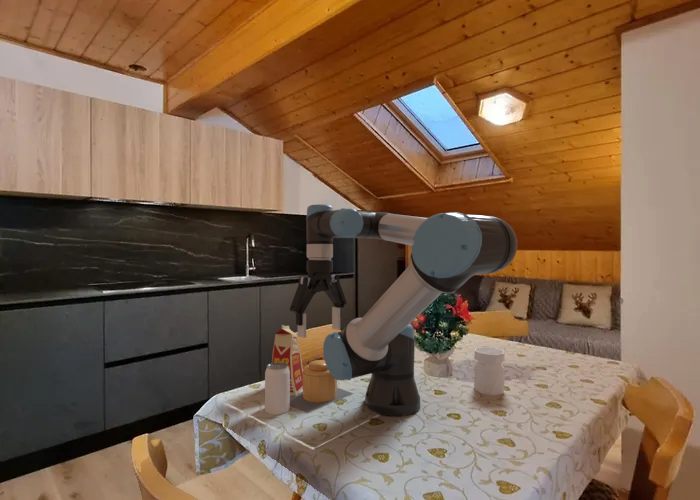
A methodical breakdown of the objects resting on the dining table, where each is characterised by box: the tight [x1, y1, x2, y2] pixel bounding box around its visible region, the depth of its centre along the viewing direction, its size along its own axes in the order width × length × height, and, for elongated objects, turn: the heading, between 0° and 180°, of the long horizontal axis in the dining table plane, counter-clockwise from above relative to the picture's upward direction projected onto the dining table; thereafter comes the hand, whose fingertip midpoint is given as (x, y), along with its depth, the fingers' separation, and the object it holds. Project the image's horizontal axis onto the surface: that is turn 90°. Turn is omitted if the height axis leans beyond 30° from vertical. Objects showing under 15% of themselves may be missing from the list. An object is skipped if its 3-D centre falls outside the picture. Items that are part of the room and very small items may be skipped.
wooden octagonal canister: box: [302, 359, 338, 403], centre depth 114 cm, size 10×10×9 cm
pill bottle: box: [473, 346, 505, 396], centre depth 120 cm, size 9×9×12 cm
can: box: [264, 362, 291, 415], centre depth 104 cm, size 6×6×12 cm
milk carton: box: [271, 324, 304, 396], centre depth 119 cm, size 9×9×20 cm
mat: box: [290, 387, 354, 414], centre depth 113 cm, size 12×18×1 cm, turn 138°
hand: (319, 333), depth 113 cm, fingers open, 13 cm apart
